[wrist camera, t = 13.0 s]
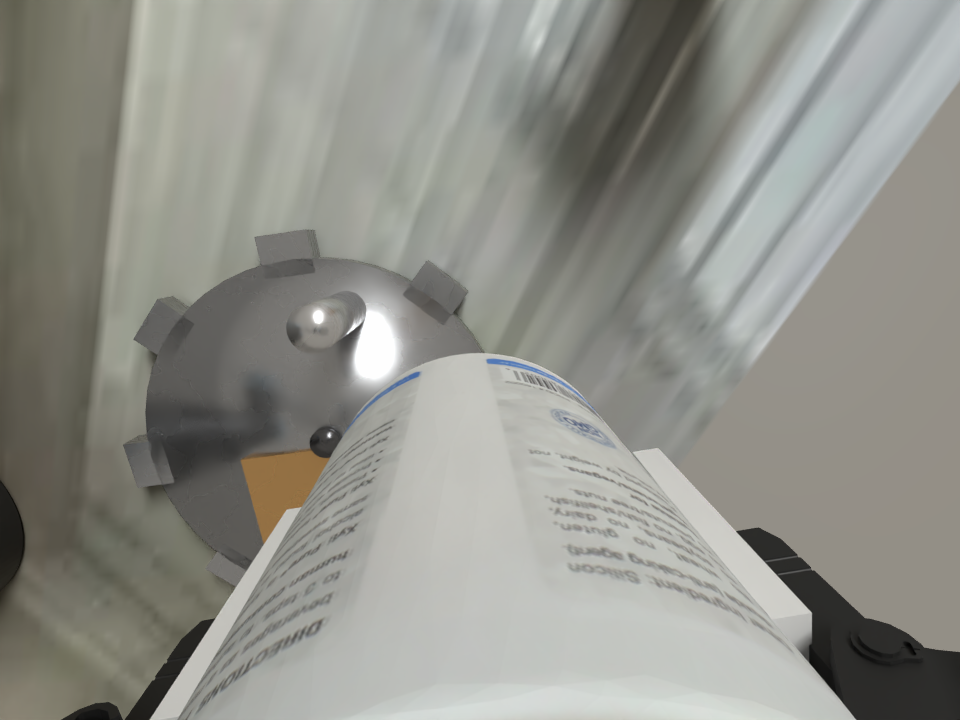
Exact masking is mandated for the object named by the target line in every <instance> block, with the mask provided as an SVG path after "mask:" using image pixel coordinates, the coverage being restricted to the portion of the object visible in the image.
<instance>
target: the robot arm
mask: <svg viewBox="0 0 960 720" xmlns="http://www.w3.org/2000/svg"><path fill="white" fill-rule="evenodd" d="M633 456H634V457H635V458H636V460H637V461H638V462H639V463H640V464H641V465H642V467H643V468H644V469H645V470H646V471H647V473H648V474H649V475H650V476H651V477H652V478H653V480H654V481H655V482H656V483H657V484H658V485H659V487H660V488H661V489H662V490H663V491H664V492H665V494H666V495H667V496H668V497H669V498H670V499H671V501H672V502H673V503H674V504H675V505H676V506H677V508H678V509H679V510H680V511H681V512H682V514H683V515H684V516H685V517H686V518H687V520H688V521H689V522H690V523H691V524H692V525H693V527H694V528H695V529H696V530H697V531H698V533H699V534H700V535H701V536H702V537H703V539H704V540H705V541H706V542H707V543H708V544H709V546H710V547H711V548H712V549H713V550H714V552H715V553H716V554H717V555H718V556H719V558H720V559H721V560H722V561H723V562H724V564H725V565H726V566H727V567H728V568H729V570H730V571H731V572H732V573H733V574H734V575H735V577H736V578H737V579H738V580H739V581H740V583H741V584H742V585H743V586H744V587H745V589H746V590H747V591H748V592H749V593H750V595H751V596H752V597H753V598H754V599H755V600H756V602H757V603H758V604H759V605H760V606H761V607H762V608H763V610H764V611H765V612H766V613H767V614H768V615H769V617H770V618H771V619H772V620H773V621H774V622H775V624H776V625H777V626H778V627H779V628H780V629H781V631H782V632H783V633H784V634H785V635H786V637H787V638H788V639H789V640H790V641H791V642H792V644H793V645H794V646H795V647H796V648H797V649H798V651H799V652H800V653H801V654H802V655H803V656H804V658H805V659H806V660H807V661H808V662H809V664H810V665H811V666H812V667H813V668H814V669H815V671H816V672H817V673H818V674H819V675H820V676H821V678H822V679H823V680H824V681H825V682H826V684H827V685H828V686H829V687H830V688H831V689H832V691H833V692H834V693H835V694H836V695H837V696H838V698H839V699H840V700H841V701H842V703H843V704H844V705H845V706H846V708H847V709H848V710H849V711H850V713H851V714H852V715H853V716H854V718H855V719H856V720H960V652H952V651H943V650H935V649H929V648H924V647H923V646H922V645H921V644H920V643H919V642H918V641H916V640H915V639H914V638H913V637H911V636H910V635H909V634H907V633H906V632H904V631H902V630H900V629H898V628H896V627H894V626H892V625H890V624H886V623H883V622H880V621H876V620H872V619H866V618H864V617H863V616H862V615H861V614H860V613H859V612H858V611H857V610H856V609H855V608H854V607H852V606H851V605H850V604H849V603H848V602H847V601H846V600H845V599H844V598H843V597H842V596H841V595H840V594H838V593H837V591H836V590H834V589H833V588H832V587H831V586H830V585H829V584H828V583H827V582H826V581H825V580H824V579H823V578H822V577H821V576H820V575H818V574H817V573H816V572H815V571H812V570H811V567H810V566H809V565H808V564H807V563H806V562H805V561H804V560H803V559H802V558H798V556H797V554H796V553H795V552H794V551H793V550H792V549H791V548H790V547H789V546H788V545H787V544H786V543H784V541H783V540H781V539H780V538H778V537H776V536H774V535H772V534H770V533H768V532H766V531H764V530H762V529H760V528H753V529H747V530H741V531H735V530H734V529H733V528H732V527H731V526H730V525H729V524H728V523H727V521H726V520H725V519H724V518H723V517H722V516H721V515H720V514H719V513H718V512H717V511H716V510H715V509H714V508H713V506H712V505H711V504H710V503H709V502H708V501H707V500H706V499H705V498H704V497H703V496H702V495H701V494H700V493H699V492H698V490H697V489H696V488H695V487H694V486H693V485H692V484H691V483H690V482H689V481H688V480H687V479H686V477H684V475H683V474H682V473H681V472H680V471H679V470H678V469H677V468H676V467H675V466H674V465H673V464H672V462H671V461H670V460H669V459H668V458H667V457H666V456H665V455H664V454H663V453H662V452H661V451H660V450H659V449H658V448H655V449H649V450H643V451H637V452H633ZM300 509H301V507H300V508H294V509H288V510H286V511H285V513H284V514H283V516H282V518H281V519H280V521H279V522H278V524H277V525H276V527H275V528H274V530H273V531H272V533H271V534H270V536H269V537H268V539H267V541H266V542H265V544H264V545H263V547H262V548H261V550H260V551H259V553H258V554H257V556H256V557H255V559H254V561H253V562H252V564H251V565H250V567H249V568H248V570H247V571H246V573H245V574H244V576H243V577H242V579H241V580H240V582H239V584H238V585H237V587H236V588H235V590H234V591H233V593H232V594H231V596H230V597H229V599H228V600H227V602H226V603H225V605H224V607H223V608H222V610H221V611H220V613H219V614H218V616H217V617H216V619H210V620H204V621H201V622H200V623H199V624H198V625H197V626H196V627H195V628H193V629H192V630H191V631H190V632H189V633H188V634H187V635H186V636H185V637H183V638H182V639H181V641H180V642H179V644H178V645H177V646H176V648H175V649H174V651H173V652H172V653H171V655H170V656H169V658H168V659H167V663H165V664H164V665H163V666H162V668H161V669H160V671H159V672H158V673H157V675H156V676H155V677H156V678H155V680H154V681H152V682H151V683H150V685H149V686H148V688H147V689H146V690H145V692H144V693H143V695H142V696H141V698H140V699H139V700H138V702H137V703H136V705H135V706H134V707H133V709H132V710H131V712H130V713H129V715H128V716H127V717H126V719H125V720H177V719H178V717H179V716H180V714H181V712H182V711H183V709H184V707H185V705H186V704H187V702H188V700H189V699H190V697H191V695H192V694H193V692H194V690H195V689H196V687H197V685H198V683H199V682H200V680H201V678H202V677H203V675H204V673H205V672H206V670H207V668H208V666H209V665H210V663H211V661H212V660H213V658H214V656H215V655H216V653H217V651H218V650H219V648H220V646H221V644H222V643H223V641H224V639H225V638H226V636H227V634H228V633H229V631H230V629H231V627H232V626H233V624H234V622H235V621H236V619H237V617H238V615H239V614H240V612H241V610H242V609H243V607H244V605H245V603H246V602H247V600H248V598H249V596H250V595H251V593H252V591H253V590H254V588H255V586H256V584H257V583H258V581H259V579H260V578H261V576H262V574H263V572H264V571H265V569H266V567H267V565H268V564H269V562H270V560H271V559H272V557H273V555H274V553H275V552H276V550H277V548H278V546H279V545H280V543H281V541H282V540H283V538H284V536H285V534H286V533H287V531H288V529H289V528H290V526H291V524H292V522H293V521H294V519H295V517H296V516H297V514H298V512H299V511H300ZM22 550H23V532H22V526H21V522H20V518H19V515H18V512H17V509H16V507H15V505H14V503H13V501H12V499H11V497H10V495H9V494H8V492H7V490H6V489H5V487H4V486H3V485H2V483H1V482H0V590H1V589H3V588H4V587H5V586H6V585H7V583H8V582H9V581H10V580H11V578H12V577H13V575H14V574H15V572H16V570H17V568H18V565H19V563H20V560H21V556H22ZM62 720H123V719H122V717H121V715H120V712H119V710H118V708H117V706H115V705H113V704H111V703H109V702H106V703H95V704H93V705H90V706H87V707H85V708H82V709H79V710H77V711H76V712H74V713H72V714H70V715H69V716H67V717H65V718H63V719H62Z"/></svg>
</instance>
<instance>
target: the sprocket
mask: <svg viewBox="0 0 960 720" xmlns="http://www.w3.org/2000/svg"><path fill="white" fill-rule="evenodd" d="M255 242H256V246H257V250H258V254H259V258H260V262H261V266H259V267H256V268H252V269H249V270H246V271H244V272H242V273H240V274H238V275H236V276H233V277H231V278H229V279H227V280H225V281H223V282H222V283H220V284H219V285H217V286H216V287H214V288H213V289H211V290H210V291H208V292H207V293H205V294H204V295H203V296H202V297H201V298H200V299H198V300H197V301H196V302H195V303H194V304H193V305H192V306H191V307H188V306H187V305H185V304H184V303H182V302H181V301H179V300H178V299H176V298H175V297H173V296H172V297H166V298H161V299H157V301H156V303H155V304H154V306H153V308H152V309H151V311H150V313H149V314H148V316H147V318H146V319H145V321H144V322H143V324H142V326H141V327H140V329H139V331H138V332H137V334H136V336H135V337H134V340H135V341H137V342H138V343H140V344H141V345H143V346H144V347H146V348H147V349H149V350H150V351H152V352H154V353H155V354H157V355H158V356H157V358H156V361H155V363H154V366H153V368H152V372H151V377H150V381H149V385H148V390H147V400H146V428H147V434H146V435H139V436H137V437H136V438H134V439H132V440H130V441H129V442H127V443H125V444H124V445H123V446H124V449H125V452H126V455H127V458H128V461H129V464H130V467H131V470H132V472H133V475H134V478H135V481H136V484H137V487H138V488H139V487H146V486H154V485H163V487H164V489H165V491H166V493H167V495H168V497H169V499H170V500H171V502H172V503H173V505H174V506H175V508H176V509H177V511H178V512H179V514H180V515H181V516H182V518H183V519H184V520H185V521H186V522H187V523H188V525H189V526H190V527H191V528H192V529H193V530H194V532H195V533H196V534H197V535H199V536H200V537H201V538H202V539H203V540H204V541H205V542H206V543H207V544H208V545H209V546H210V547H211V548H213V549H214V550H215V551H217V553H216V554H215V556H214V557H213V559H212V560H211V561H210V563H209V564H208V566H207V567H206V568H205V569H207V570H208V571H210V572H212V573H213V574H215V575H217V576H218V577H220V578H222V579H223V580H225V581H227V582H229V583H230V584H232V585H234V586H235V587H237V585H238V584H239V582H240V580H241V579H242V577H243V576H244V574H245V573H246V571H247V570H248V568H249V567H250V565H251V564H252V562H253V561H254V559H255V557H256V556H257V554H258V553H259V551H260V550H261V548H262V547H263V545H264V544H265V542H266V541H267V539H268V537H269V536H270V534H271V533H272V531H273V530H274V528H275V527H276V525H277V524H278V522H279V521H280V519H281V518H282V516H283V514H284V513H285V511H286V510H288V509H294V508H300V507H302V506H303V504H304V502H305V501H306V499H307V497H308V495H309V494H310V492H311V490H312V489H313V487H314V485H315V483H316V482H317V480H318V478H319V476H320V475H321V473H322V471H323V469H324V468H325V466H326V464H327V462H328V461H329V459H330V457H331V455H332V453H333V451H334V450H335V448H336V447H337V445H338V443H339V442H340V440H341V438H342V437H343V435H344V433H345V431H346V430H347V428H348V427H349V425H350V424H351V422H352V421H353V419H354V418H355V416H356V415H357V413H358V412H359V411H360V410H361V408H362V407H363V406H364V405H365V404H366V403H367V402H368V401H369V400H370V399H371V398H372V397H373V396H374V395H375V394H376V393H377V392H378V391H379V390H381V389H382V388H383V387H384V386H386V385H387V384H389V383H390V382H391V381H393V380H394V379H396V378H397V377H398V376H400V375H402V374H403V373H405V372H407V371H409V370H411V369H413V368H415V367H417V366H419V365H422V364H424V363H427V362H430V361H433V360H436V359H439V358H443V357H448V356H452V355H460V354H468V353H484V351H483V349H482V348H481V346H480V345H479V343H478V341H477V340H476V338H475V337H474V335H473V334H472V332H471V331H470V330H469V329H468V328H467V326H466V325H465V324H464V323H463V322H462V320H461V319H460V318H459V317H458V316H457V315H456V314H455V313H454V311H455V309H456V308H457V307H458V305H459V304H460V303H461V301H462V300H463V299H464V297H465V296H466V295H467V293H468V290H467V289H466V288H464V287H463V286H462V285H460V284H459V283H458V282H457V281H455V280H454V279H453V278H451V277H450V276H449V275H447V274H446V273H445V272H443V271H442V270H441V269H439V268H438V267H437V266H435V265H434V264H433V263H432V262H430V261H429V260H428V261H426V263H425V264H424V265H423V267H422V268H421V269H420V271H419V272H418V274H417V275H416V276H415V278H414V279H413V281H411V280H409V279H407V278H405V277H403V276H401V275H400V274H397V273H394V272H392V271H389V270H386V269H384V268H381V267H379V266H376V265H372V264H367V263H363V262H359V261H355V260H348V259H339V258H329V257H323V258H320V253H319V248H318V244H317V239H316V234H315V230H300V231H293V232H286V233H279V234H272V235H265V236H258V237H255Z"/></svg>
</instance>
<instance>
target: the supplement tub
mask: <svg viewBox="0 0 960 720" xmlns="http://www.w3.org/2000/svg"><path fill="white" fill-rule="evenodd" d="M177 720H856V719H855V718H854V716H853V715H852V714H851V713H850V711H849V710H848V709H847V708H846V706H845V705H844V704H843V703H842V701H841V700H840V699H839V698H838V696H837V695H836V694H835V693H834V692H833V691H832V689H831V688H830V687H829V686H828V685H827V684H826V682H825V681H824V680H823V679H822V678H821V676H820V675H819V674H818V673H817V672H816V671H815V669H814V668H813V667H812V666H811V665H810V664H809V662H808V661H807V660H806V659H805V658H804V656H803V655H802V654H801V653H800V652H799V651H798V649H797V648H796V647H795V646H794V645H793V644H792V642H791V641H790V640H789V639H788V638H787V637H786V635H785V634H784V633H783V632H782V631H781V629H780V628H779V627H778V626H777V625H776V624H775V622H774V621H773V620H772V619H771V618H770V617H769V615H768V614H767V613H766V612H765V611H764V610H763V608H762V607H761V606H760V605H759V604H758V603H757V602H756V600H755V599H754V598H753V597H752V596H751V595H750V593H749V592H748V591H747V590H746V589H745V587H744V586H743V585H742V584H741V583H740V581H739V580H738V579H737V578H736V577H735V575H734V574H733V573H732V572H731V571H730V570H729V568H728V567H727V566H726V565H725V564H724V562H723V561H722V560H721V559H720V558H719V556H718V555H717V554H716V553H715V552H714V550H713V549H712V548H711V547H710V546H709V544H708V543H707V542H706V541H705V540H704V539H703V537H702V536H701V535H700V534H699V533H698V531H697V530H696V529H695V528H694V527H693V525H692V524H691V523H690V522H689V521H688V520H687V518H686V517H685V516H684V515H683V514H682V512H681V511H680V510H679V509H678V508H677V506H676V505H675V504H674V503H673V502H672V501H671V499H670V498H669V497H668V496H667V495H666V494H665V492H664V491H663V490H662V489H661V488H660V487H659V485H658V484H657V483H656V482H655V481H654V480H653V478H652V477H651V476H650V475H649V474H648V473H647V471H646V470H645V469H644V468H643V467H642V465H641V464H640V463H639V462H638V461H637V460H636V458H635V457H634V456H633V455H632V454H631V453H630V452H629V450H628V449H627V448H626V447H625V446H624V444H623V443H622V442H621V441H620V440H619V438H618V437H617V436H616V435H615V434H614V433H613V431H612V430H611V429H610V428H609V427H608V425H607V424H606V423H605V422H604V421H603V419H602V418H601V417H600V416H599V415H598V413H597V412H596V411H595V410H594V409H593V408H592V407H591V406H590V405H589V403H588V402H587V401H586V400H585V398H584V397H583V396H582V395H581V394H580V393H579V392H578V391H577V390H576V389H575V388H574V387H573V386H571V385H570V384H569V383H568V382H566V381H565V380H564V379H562V378H560V377H559V376H557V375H556V374H554V373H552V372H550V371H549V370H547V369H545V368H543V367H541V366H539V365H537V364H534V363H531V362H528V361H525V360H522V359H519V358H515V357H511V356H505V355H498V354H490V353H468V354H460V355H452V356H448V357H443V358H439V359H436V360H433V361H430V362H427V363H424V364H422V365H419V366H417V367H415V368H413V369H411V370H409V371H407V372H405V373H403V374H402V375H400V376H398V377H397V378H396V379H394V380H393V381H391V382H390V383H389V384H387V385H386V386H384V387H383V388H382V389H381V390H379V391H378V392H377V393H376V394H375V395H374V396H373V397H372V398H371V399H370V400H369V401H368V402H367V403H366V404H365V405H364V406H363V407H362V408H361V410H360V411H359V412H358V413H357V415H356V416H355V418H354V419H353V421H352V422H351V424H350V425H349V427H348V428H347V430H346V431H345V433H344V435H343V437H342V438H341V440H340V442H339V443H338V445H337V447H336V448H335V450H334V451H333V453H332V455H331V457H330V459H329V461H328V462H327V464H326V466H325V468H324V469H323V471H322V473H321V475H320V476H319V478H318V480H317V482H316V483H315V485H314V487H313V489H312V490H311V492H310V494H309V495H308V497H307V499H306V501H305V502H304V504H303V506H302V507H301V509H300V511H299V512H298V514H297V516H296V517H295V519H294V521H293V522H292V524H291V526H290V528H289V529H288V531H287V533H286V534H285V536H284V538H283V540H282V541H281V543H280V545H279V546H278V548H277V550H276V552H275V553H274V555H273V557H272V559H271V560H270V562H269V564H268V565H267V567H266V569H265V571H264V572H263V574H262V576H261V578H260V579H259V581H258V583H257V584H256V586H255V588H254V590H253V591H252V593H251V595H250V596H249V598H248V600H247V602H246V603H245V605H244V607H243V609H242V610H241V612H240V614H239V615H238V617H237V619H236V621H235V622H234V624H233V626H232V627H231V629H230V631H229V633H228V634H227V636H226V638H225V639H224V641H223V643H222V644H221V646H220V648H219V650H218V651H217V653H216V655H215V656H214V658H213V660H212V661H211V663H210V665H209V666H208V668H207V670H206V672H205V673H204V675H203V677H202V678H201V680H200V682H199V683H198V685H197V687H196V689H195V690H194V692H193V694H192V695H191V697H190V699H189V700H188V702H187V704H186V705H185V707H184V709H183V711H182V712H181V714H180V716H179V717H178V719H177Z"/></svg>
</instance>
